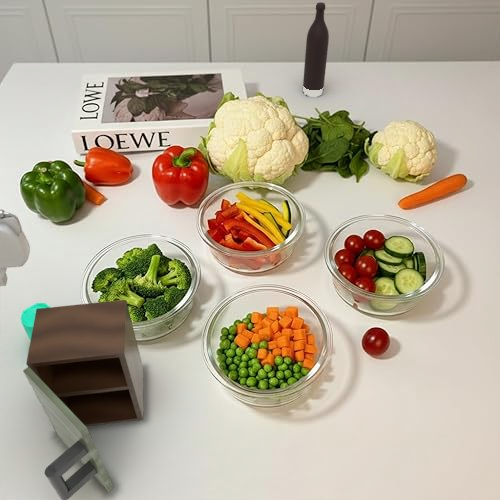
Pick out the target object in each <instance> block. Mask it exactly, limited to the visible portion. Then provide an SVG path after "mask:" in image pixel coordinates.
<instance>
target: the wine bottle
mask: <svg viewBox="0 0 500 500" xmlns="http://www.w3.org/2000/svg"><path fill="white" fill-rule="evenodd" d="M325 10H326V3H324V2H316V4H315V17H314V20H313V21H312V23H311V25H310V27H309V29H308V31H307V34H306V42H305V55H304V68H303V78H302V79H303V80H302V81H303V82H302V87H303V86H304V87H305V88H306V89H309V90H320V89H322V88H323V87H324V88H325V79H326V68H327V60H328V59H327V58H328V50H329V42H330V41H329V38H330V37H329V36H330V33H329V29H328V27H327V24H326V21H325Z"/></svg>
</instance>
